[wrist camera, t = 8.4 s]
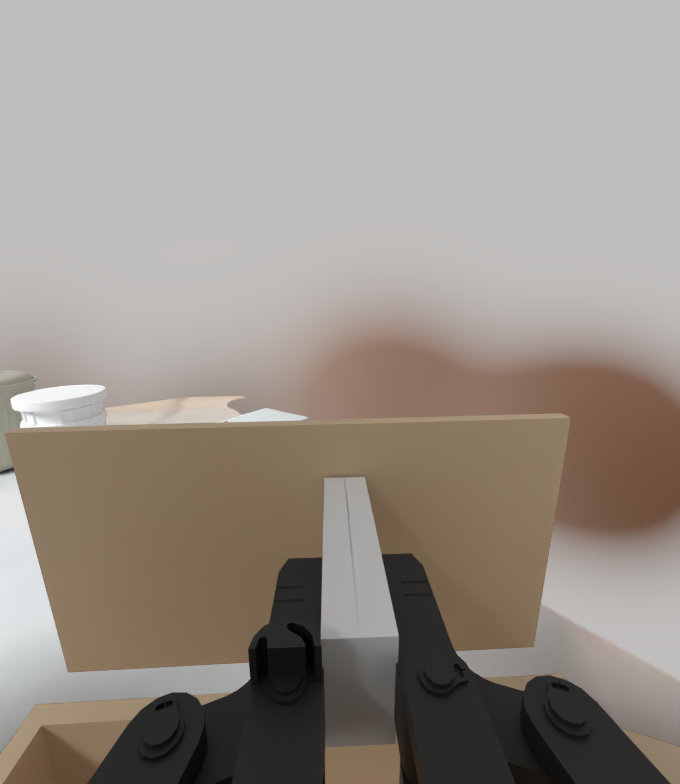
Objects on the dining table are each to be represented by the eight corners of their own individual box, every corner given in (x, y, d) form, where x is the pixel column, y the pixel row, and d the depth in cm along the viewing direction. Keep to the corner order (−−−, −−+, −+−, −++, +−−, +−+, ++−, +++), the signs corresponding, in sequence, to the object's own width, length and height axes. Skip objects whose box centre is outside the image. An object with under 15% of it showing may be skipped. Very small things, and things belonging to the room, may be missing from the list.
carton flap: (533, 646, 16) (570, 418, 13) (68, 672, 15) (4, 433, 12) (527, 636, 16) (561, 413, 14) (76, 660, 15) (16, 428, 13)
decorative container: (136, 484, 63) (120, 382, 59) (109, 522, 52) (87, 400, 48) (60, 491, 61) (38, 386, 56) (15, 533, 50) (-16, 405, 45)
